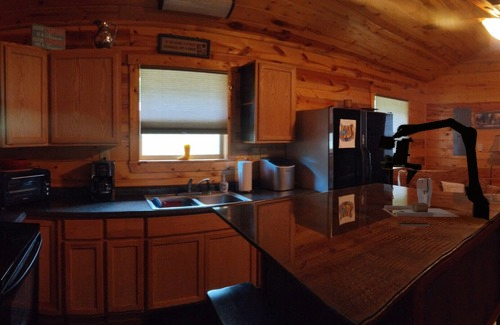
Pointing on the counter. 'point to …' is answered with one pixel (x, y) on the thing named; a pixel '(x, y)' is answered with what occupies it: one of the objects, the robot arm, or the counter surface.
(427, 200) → the beer glass
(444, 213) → the board
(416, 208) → the walnut block
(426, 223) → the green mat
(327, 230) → the counter surface
